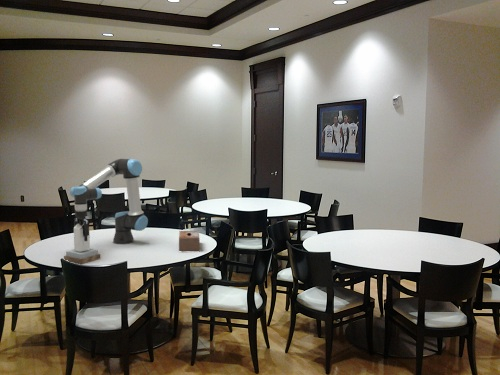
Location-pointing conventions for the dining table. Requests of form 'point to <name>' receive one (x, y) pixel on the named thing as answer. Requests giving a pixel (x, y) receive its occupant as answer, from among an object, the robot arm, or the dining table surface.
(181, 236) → the tissue box cover
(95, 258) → the bottom slab
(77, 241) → the milk carton
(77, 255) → the top slab
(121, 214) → the robot arm
